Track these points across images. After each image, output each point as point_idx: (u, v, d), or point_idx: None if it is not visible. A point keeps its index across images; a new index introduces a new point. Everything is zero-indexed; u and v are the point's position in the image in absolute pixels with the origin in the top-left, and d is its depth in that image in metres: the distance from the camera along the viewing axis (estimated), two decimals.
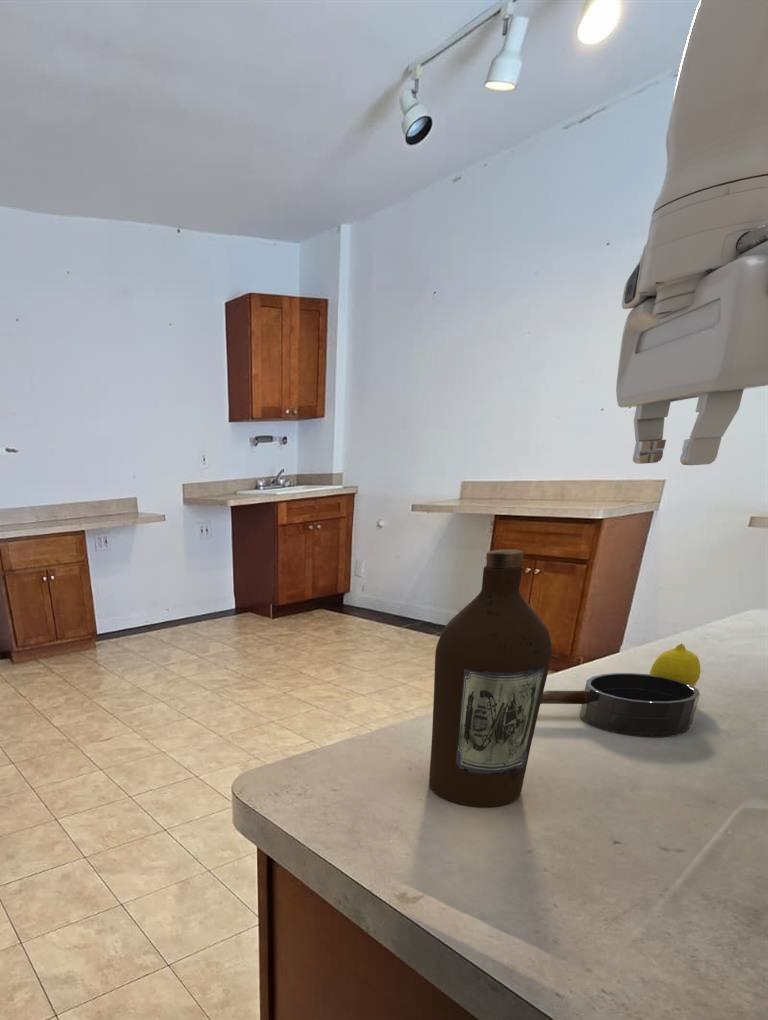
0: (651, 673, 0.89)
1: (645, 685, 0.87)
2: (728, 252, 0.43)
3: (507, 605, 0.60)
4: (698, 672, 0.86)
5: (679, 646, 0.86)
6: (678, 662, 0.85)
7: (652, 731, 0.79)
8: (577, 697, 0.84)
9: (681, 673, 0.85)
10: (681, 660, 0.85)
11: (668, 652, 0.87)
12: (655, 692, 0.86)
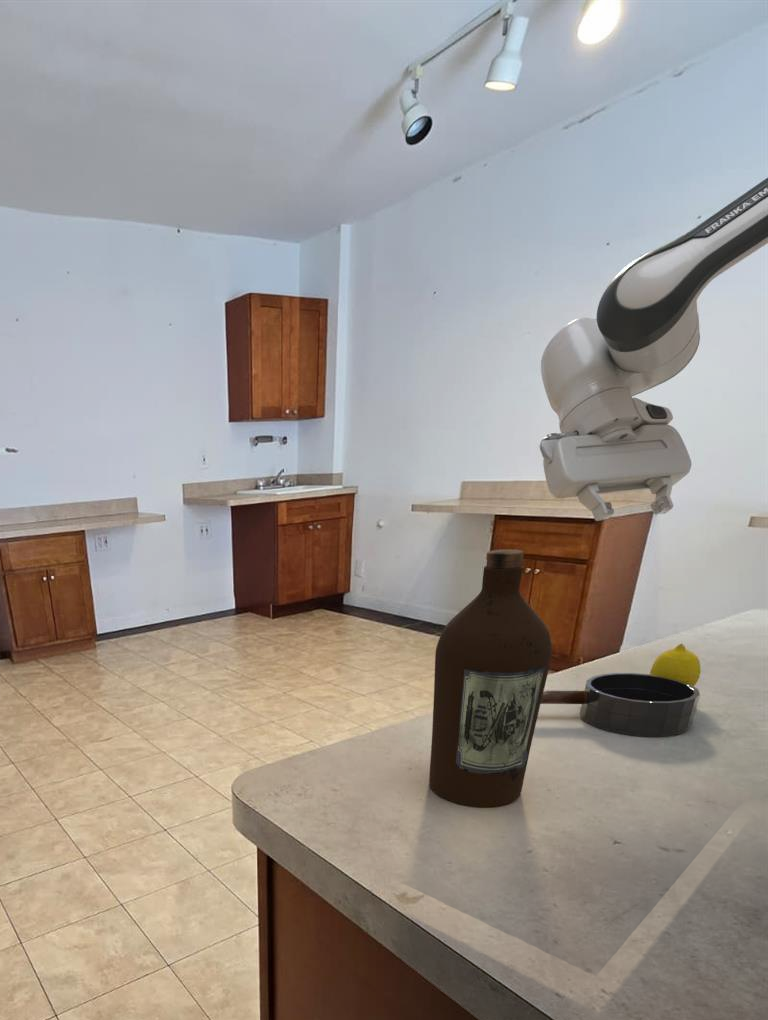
0: (651, 673, 0.89)
1: (645, 685, 0.87)
2: None
3: (507, 605, 0.60)
4: (698, 672, 0.86)
5: (679, 646, 0.86)
6: (678, 662, 0.85)
7: (652, 731, 0.79)
8: (577, 697, 0.84)
9: (681, 673, 0.85)
10: (681, 660, 0.85)
11: (668, 652, 0.87)
12: (655, 692, 0.86)
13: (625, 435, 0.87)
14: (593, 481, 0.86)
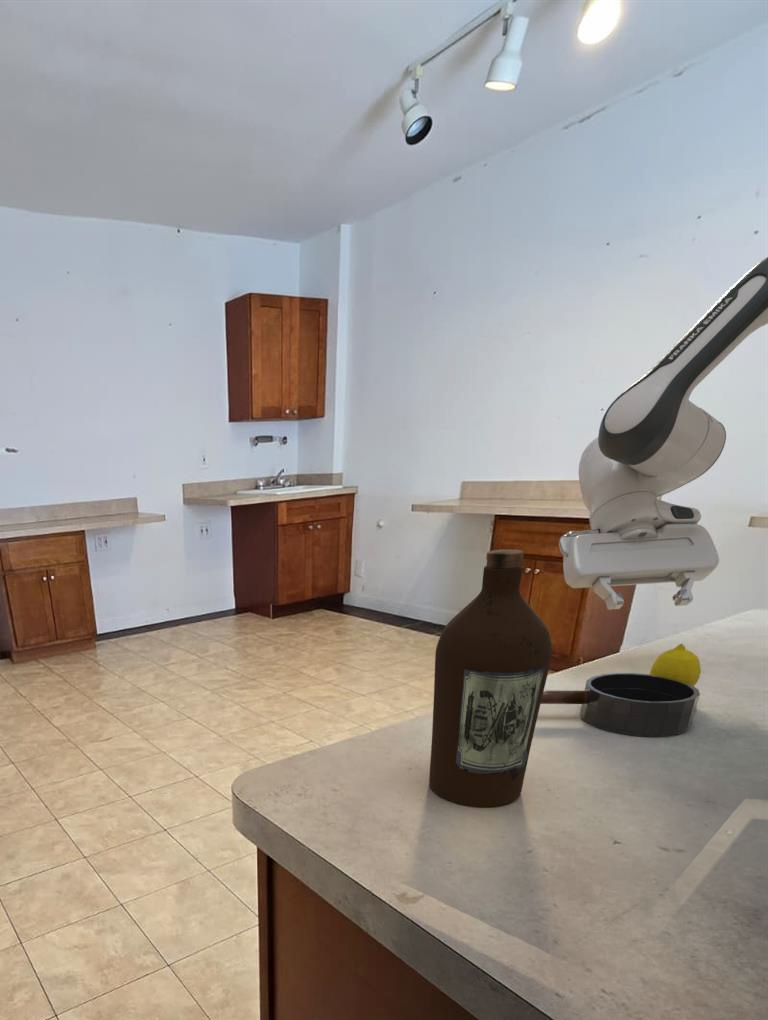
0: (651, 673, 0.89)
1: (645, 685, 0.87)
2: None
3: (507, 605, 0.60)
4: (698, 672, 0.86)
5: (679, 646, 0.86)
6: (678, 662, 0.85)
7: (652, 731, 0.79)
8: (577, 697, 0.84)
9: (681, 673, 0.85)
10: (681, 660, 0.85)
11: (668, 652, 0.87)
12: (655, 692, 0.86)
13: (645, 533, 0.94)
14: (604, 574, 0.93)
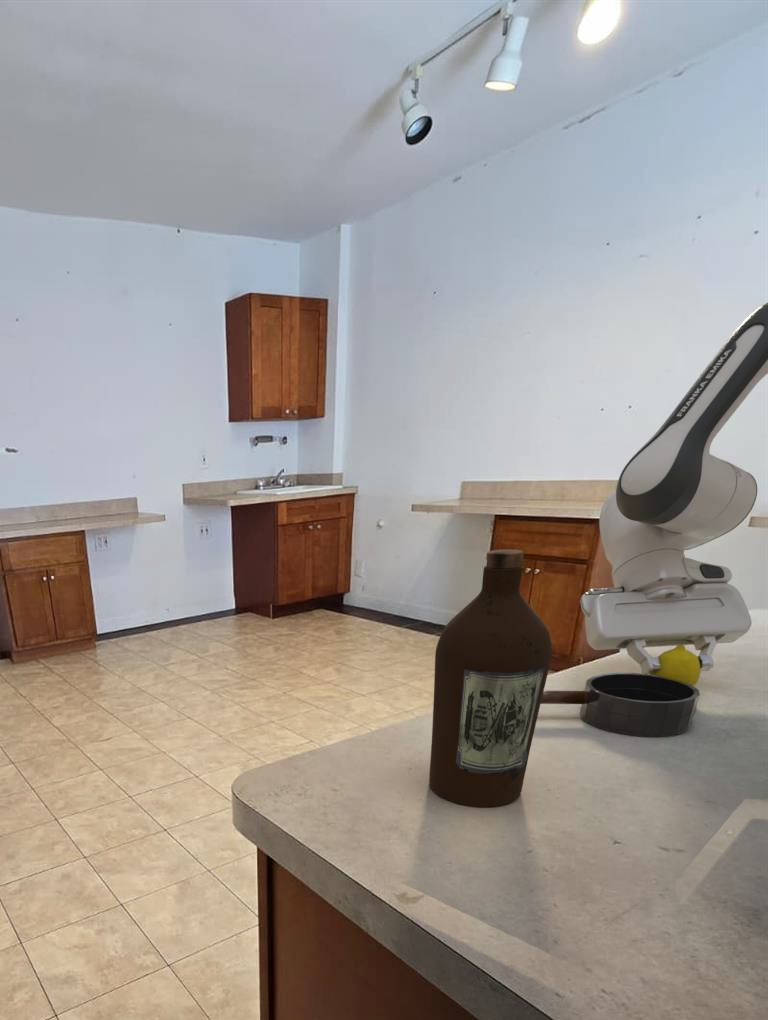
0: None
1: (645, 685, 0.87)
2: None
3: (507, 605, 0.60)
4: (698, 672, 0.86)
5: (679, 646, 0.86)
6: (678, 662, 0.85)
7: (652, 731, 0.79)
8: (577, 697, 0.84)
9: (681, 673, 0.85)
10: (681, 660, 0.85)
11: (668, 652, 0.87)
12: (655, 692, 0.86)
13: (672, 593, 0.88)
14: (630, 637, 0.88)
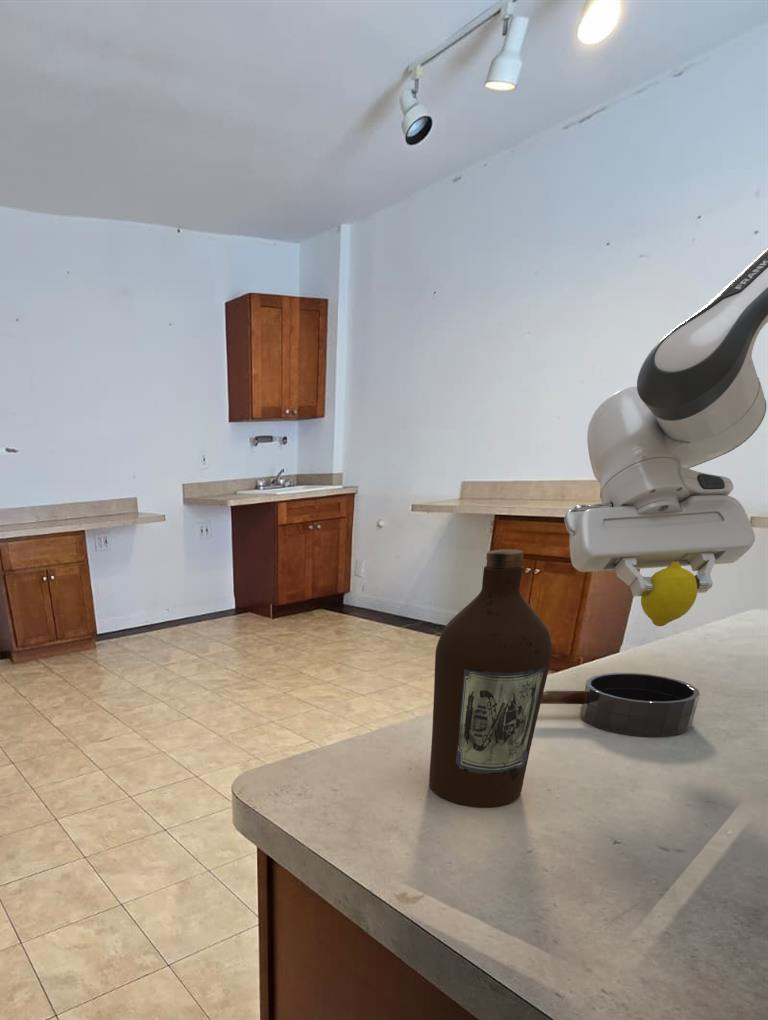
0: (642, 596, 0.79)
1: (645, 685, 0.87)
2: None
3: (507, 605, 0.60)
4: (695, 592, 0.76)
5: (674, 563, 0.77)
6: (672, 580, 0.76)
7: (652, 731, 0.79)
8: (577, 697, 0.84)
9: (676, 592, 0.76)
10: (676, 578, 0.76)
11: (661, 571, 0.78)
12: (655, 692, 0.86)
13: (667, 507, 0.79)
14: (619, 555, 0.79)
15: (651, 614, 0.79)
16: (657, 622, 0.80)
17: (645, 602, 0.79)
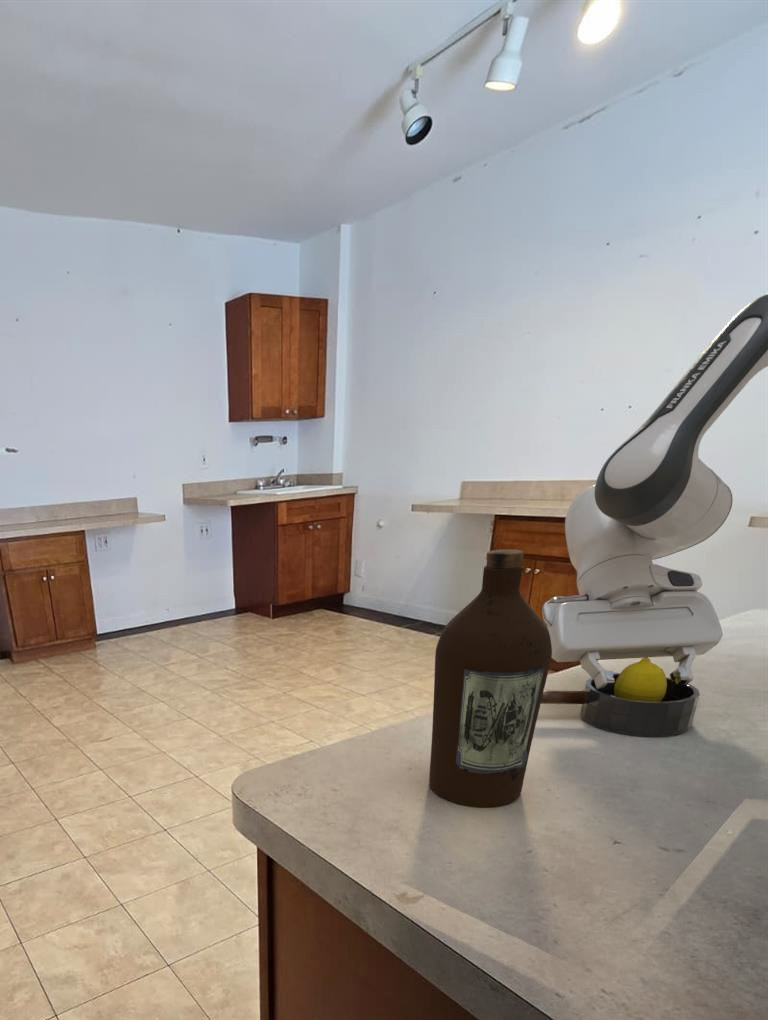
0: (615, 688, 0.83)
1: None
2: None
3: (507, 605, 0.60)
4: (664, 687, 0.80)
5: (644, 659, 0.81)
6: (643, 676, 0.80)
7: (652, 731, 0.79)
8: (577, 697, 0.84)
9: (646, 688, 0.80)
10: (646, 675, 0.80)
11: (632, 665, 0.81)
12: None
13: (639, 602, 0.83)
14: (593, 649, 0.82)
15: None
16: None
17: (617, 694, 0.83)
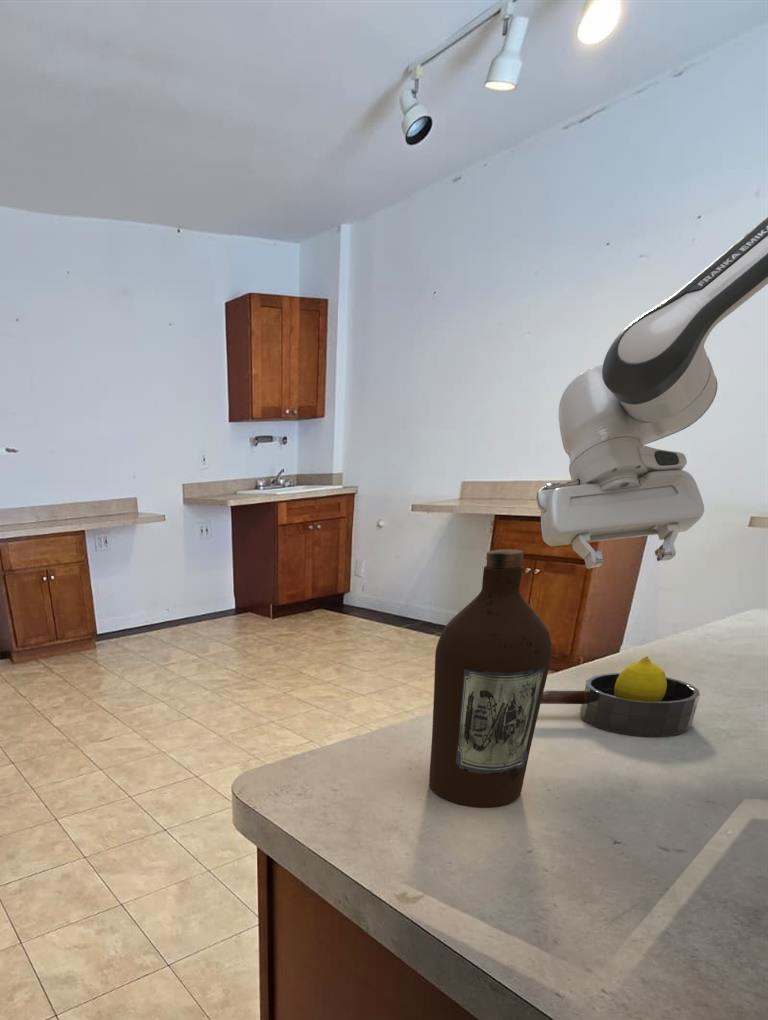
0: (615, 688, 0.83)
1: None
2: None
3: (507, 605, 0.60)
4: (664, 687, 0.80)
5: (644, 659, 0.81)
6: (643, 676, 0.80)
7: (652, 731, 0.79)
8: (577, 697, 0.84)
9: (646, 688, 0.80)
10: (646, 675, 0.80)
11: (632, 665, 0.81)
12: None
13: (627, 483, 0.88)
14: (583, 531, 0.88)
15: None
16: None
17: (617, 694, 0.83)
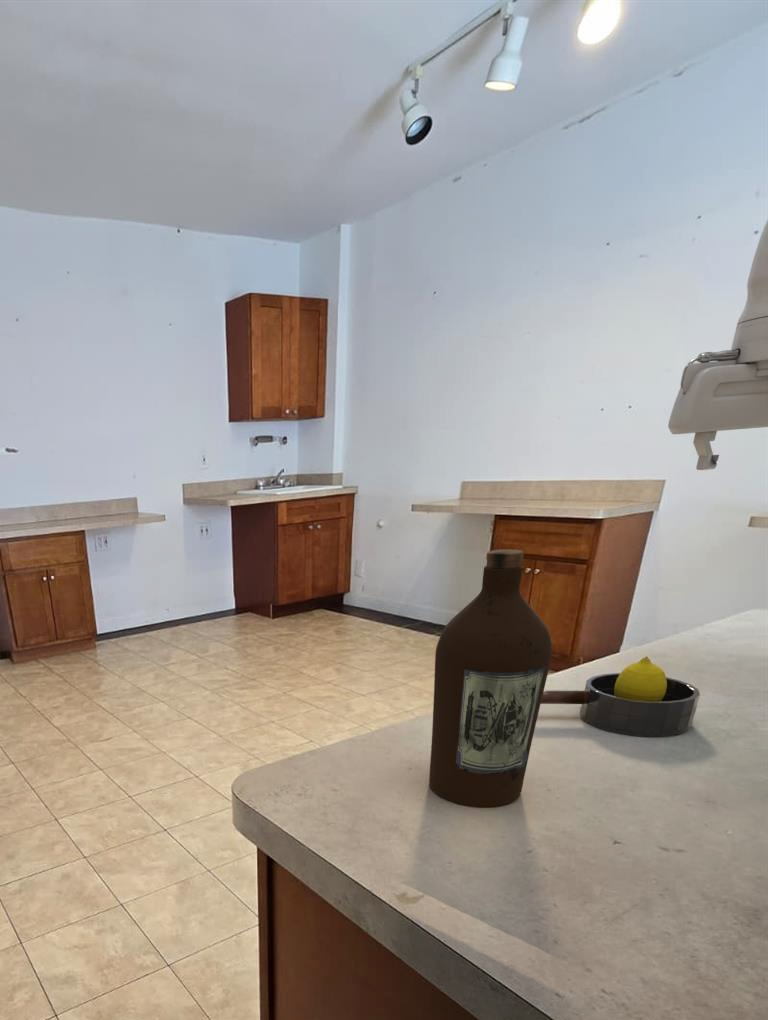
0: (615, 688, 0.83)
1: None
2: None
3: (507, 605, 0.60)
4: (664, 687, 0.80)
5: (644, 659, 0.81)
6: (643, 676, 0.80)
7: (652, 731, 0.79)
8: (577, 697, 0.84)
9: (646, 688, 0.80)
10: (646, 675, 0.80)
11: (632, 665, 0.81)
12: None
13: None
14: (712, 430, 0.83)
15: None
16: None
17: (617, 694, 0.83)
